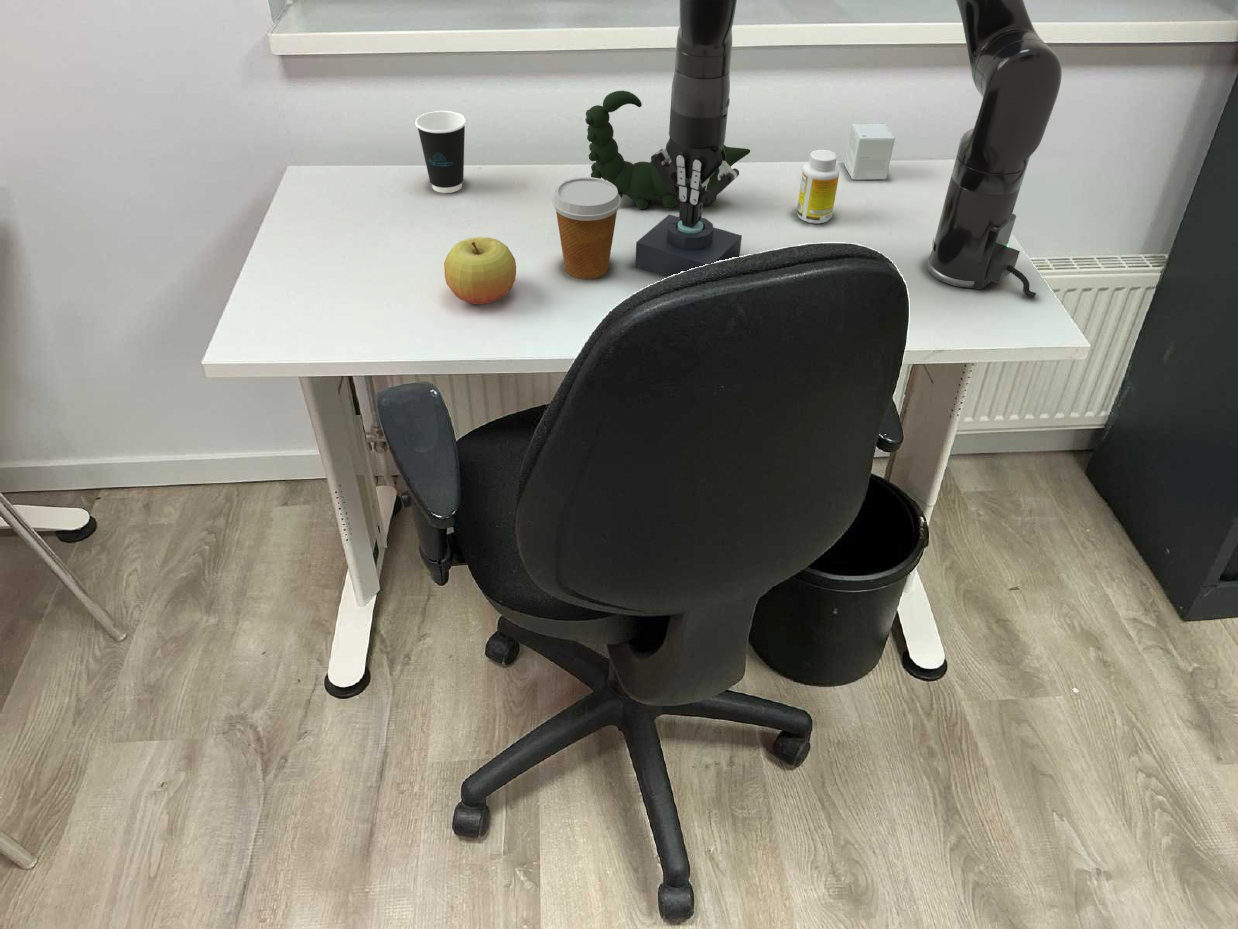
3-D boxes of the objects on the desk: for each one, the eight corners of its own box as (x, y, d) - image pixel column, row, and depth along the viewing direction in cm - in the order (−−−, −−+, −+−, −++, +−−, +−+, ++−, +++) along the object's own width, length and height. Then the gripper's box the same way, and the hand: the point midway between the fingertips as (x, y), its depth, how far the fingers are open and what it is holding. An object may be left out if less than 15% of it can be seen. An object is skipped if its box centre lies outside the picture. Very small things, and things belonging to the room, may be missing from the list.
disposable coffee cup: (561, 289, 139) (560, 210, 131) (547, 255, 146) (545, 179, 138) (627, 280, 141) (629, 203, 133) (609, 248, 148) (611, 172, 140)
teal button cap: (706, 235, 143) (707, 222, 142) (695, 245, 141) (696, 232, 139) (684, 228, 144) (685, 215, 143) (672, 239, 142) (673, 226, 141)
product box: (887, 180, 167) (896, 138, 162) (851, 180, 167) (859, 138, 162) (878, 164, 172) (886, 122, 167) (843, 164, 171) (851, 122, 167)
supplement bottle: (838, 218, 157) (850, 156, 150) (814, 228, 154) (825, 166, 147) (812, 204, 160) (822, 143, 153) (788, 214, 157) (797, 153, 150)
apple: (448, 276, 141) (442, 225, 136) (516, 274, 142) (514, 223, 137) (445, 315, 134) (439, 262, 128) (518, 312, 135) (515, 260, 129)
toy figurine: (593, 224, 157) (752, 214, 156) (582, 106, 144) (754, 94, 143) (594, 196, 164) (746, 186, 163) (584, 81, 151) (748, 70, 150)
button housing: (739, 259, 146) (743, 222, 142) (709, 290, 140) (712, 252, 136) (667, 238, 151) (669, 201, 147) (635, 266, 144) (636, 229, 140)
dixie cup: (432, 201, 158) (425, 134, 151) (415, 180, 163) (407, 115, 156) (479, 191, 161) (474, 125, 154) (461, 171, 166) (455, 106, 159)
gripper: (641, 102, 130) (636, 222, 141) (732, 125, 125) (720, 248, 136) (668, 84, 135) (661, 202, 146) (757, 105, 130) (743, 225, 141)
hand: (690, 224), depth 141 cm, fingers closed
